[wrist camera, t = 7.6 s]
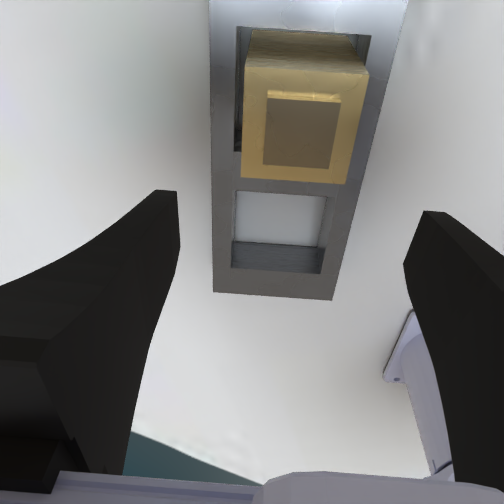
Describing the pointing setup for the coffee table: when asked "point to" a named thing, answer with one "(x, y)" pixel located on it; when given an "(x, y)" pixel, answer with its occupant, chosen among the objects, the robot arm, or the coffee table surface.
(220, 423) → the coffee table surface
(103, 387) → the robot arm
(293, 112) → the wooden block
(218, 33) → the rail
